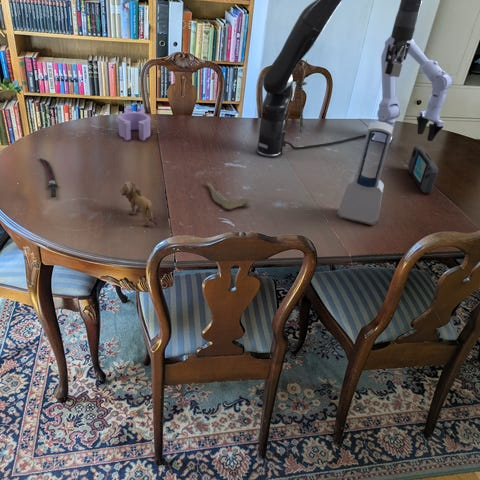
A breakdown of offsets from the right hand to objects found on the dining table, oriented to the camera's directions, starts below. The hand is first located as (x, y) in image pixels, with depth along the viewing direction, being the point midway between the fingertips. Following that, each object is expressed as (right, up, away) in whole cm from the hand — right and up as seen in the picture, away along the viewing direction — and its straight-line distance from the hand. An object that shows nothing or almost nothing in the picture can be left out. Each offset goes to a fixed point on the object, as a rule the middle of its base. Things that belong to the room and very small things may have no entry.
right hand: (424, 137), depth 197 cm
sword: (-141, -23, -46) cm, 150 cm away
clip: (-122, +1, -5) cm, 122 cm away
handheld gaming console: (-11, -21, -21) cm, 32 cm away
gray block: (-21, +19, -21) cm, 35 cm away
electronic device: (-41, -37, -50) cm, 74 cm away
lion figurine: (-108, -37, -61) cm, 129 cm away
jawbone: (-82, -29, -46) cm, 98 cm away
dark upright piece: (-54, +8, +17) cm, 57 cm away
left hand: (-21, +20, -21) cm, 36 cm away
